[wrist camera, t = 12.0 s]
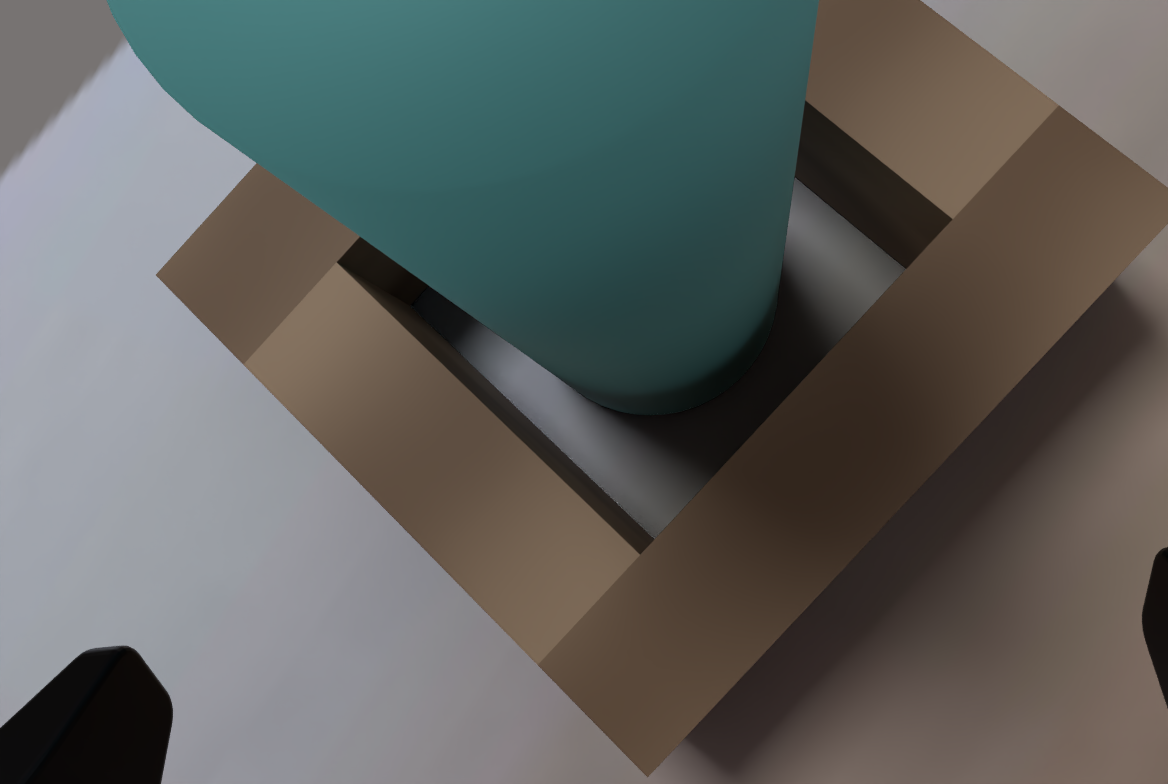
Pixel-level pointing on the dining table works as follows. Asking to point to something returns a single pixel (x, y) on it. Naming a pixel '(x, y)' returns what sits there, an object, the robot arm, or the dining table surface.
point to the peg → (530, 159)
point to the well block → (785, 439)
